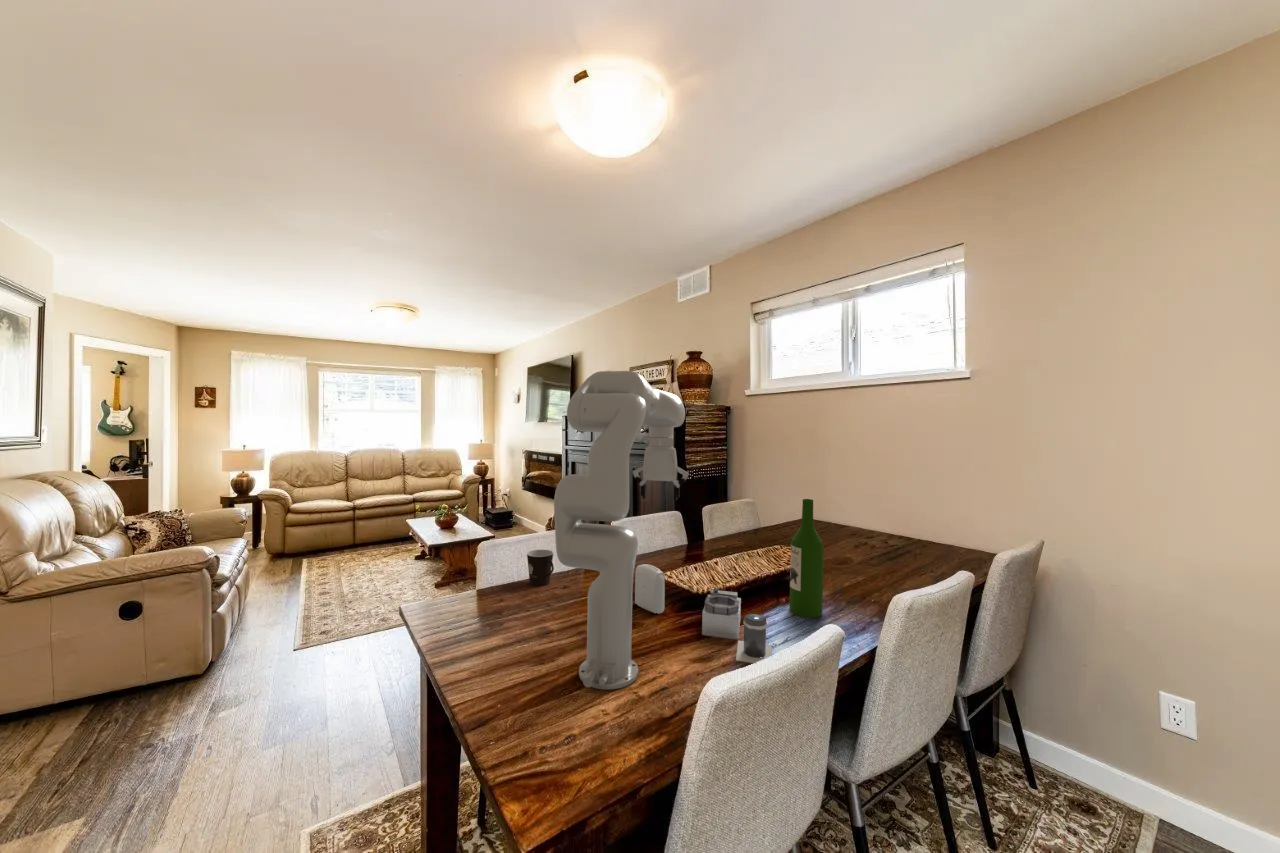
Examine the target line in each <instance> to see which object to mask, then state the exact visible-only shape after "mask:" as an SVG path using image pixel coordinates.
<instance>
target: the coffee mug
mask: <svg viewBox="0 0 1280 853" xmlns="http://www.w3.org/2000/svg"><path fill="white" fill-rule="evenodd" d="M526 557H527V568H528V569H527V570H528V578H529V584H530V585H531V587H545V586H548V585H550V581H551V575H552V574H553V572H554V563H553V558H554V551H553V550H550V549H533V550H530V551H528V552H526Z"/></svg>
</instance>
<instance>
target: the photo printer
mask: <svg viewBox="0 0 1280 853" xmlns="http://www.w3.org/2000/svg"><path fill="white" fill-rule="evenodd" d="M634 574H635V576H634V577H635V578H634V583H635V585H634V603H635V605H636V604H637V605H636V606H638V607H640V608H642V609H644V610H646V611H648V612H651V613H654V614H656V613H657V615H659V614H662V613H664V611H665V608H666V607H665V605H666V603H665V602H666V601H665V597H666V596H665V595H666V593H665V592H666V588H665V586H666V584H665V583H666V581H665V580H666V576H665V574H664V572H663V571H661V569H660V568H658V567H656V566H654V565H652V564H647V563H644V564H638V565H637V566H636V568H635V570H634Z"/></svg>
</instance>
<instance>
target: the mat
mask: <svg viewBox="0 0 1280 853" xmlns="http://www.w3.org/2000/svg"><path fill="white" fill-rule="evenodd" d="M736 647H737V649H736V655H735V656H736V657H735V658H736V659H735V661H737V662H744V663H752V664H755V663H754V662H756V661H759V660H761V659H764V658H766V657H769V656H771V655H772V656H773V646H772V644H767V643H766V654H765V656H764V657H762V658H754V657H750V656H748V655H746V654H745V653H744V640H739V639H738V640H737V646H736Z"/></svg>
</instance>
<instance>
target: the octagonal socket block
mask: <svg viewBox="0 0 1280 853" xmlns="http://www.w3.org/2000/svg"><path fill="white" fill-rule="evenodd" d="M741 604H742V598H741V597H738V592H737V591H727V590H719V588H718V587H714V588H713V589H711V591H710V594H707V596H706V597H705V600H704V607H703V609H702V614H701V615H702V619H701V622H702V623H701V635H702V636H707V637H715V638H716V637H717V638H723V639H729V640H730V639H731V640H737V641H738V640H739V636H740V629H741V628H740V627H741V626H740V624H741V612H742V609H741V608H742V607H741Z"/></svg>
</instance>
